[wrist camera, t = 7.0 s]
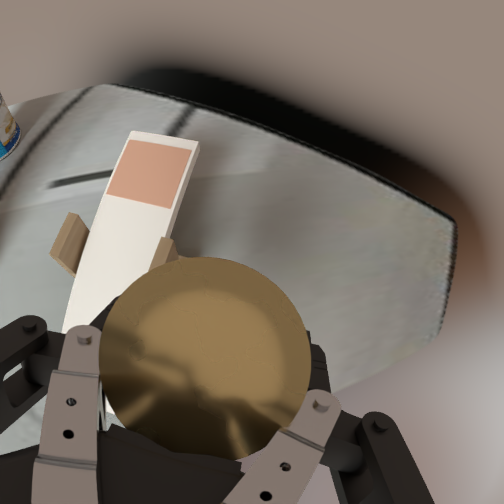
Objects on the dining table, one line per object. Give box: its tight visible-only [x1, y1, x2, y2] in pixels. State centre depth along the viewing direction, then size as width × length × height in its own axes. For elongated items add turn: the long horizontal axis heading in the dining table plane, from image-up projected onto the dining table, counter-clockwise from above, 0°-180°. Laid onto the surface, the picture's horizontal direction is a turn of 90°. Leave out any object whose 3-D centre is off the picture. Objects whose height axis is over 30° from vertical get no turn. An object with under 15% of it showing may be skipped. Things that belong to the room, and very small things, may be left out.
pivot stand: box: [49, 212, 188, 278], centre depth 27 cm, size 11×8×10 cm
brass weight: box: [99, 257, 311, 461], centre depth 12 cm, size 6×6×9 cm
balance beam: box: [62, 131, 200, 415], centre depth 26 cm, size 7×25×2 cm, turn 167°
